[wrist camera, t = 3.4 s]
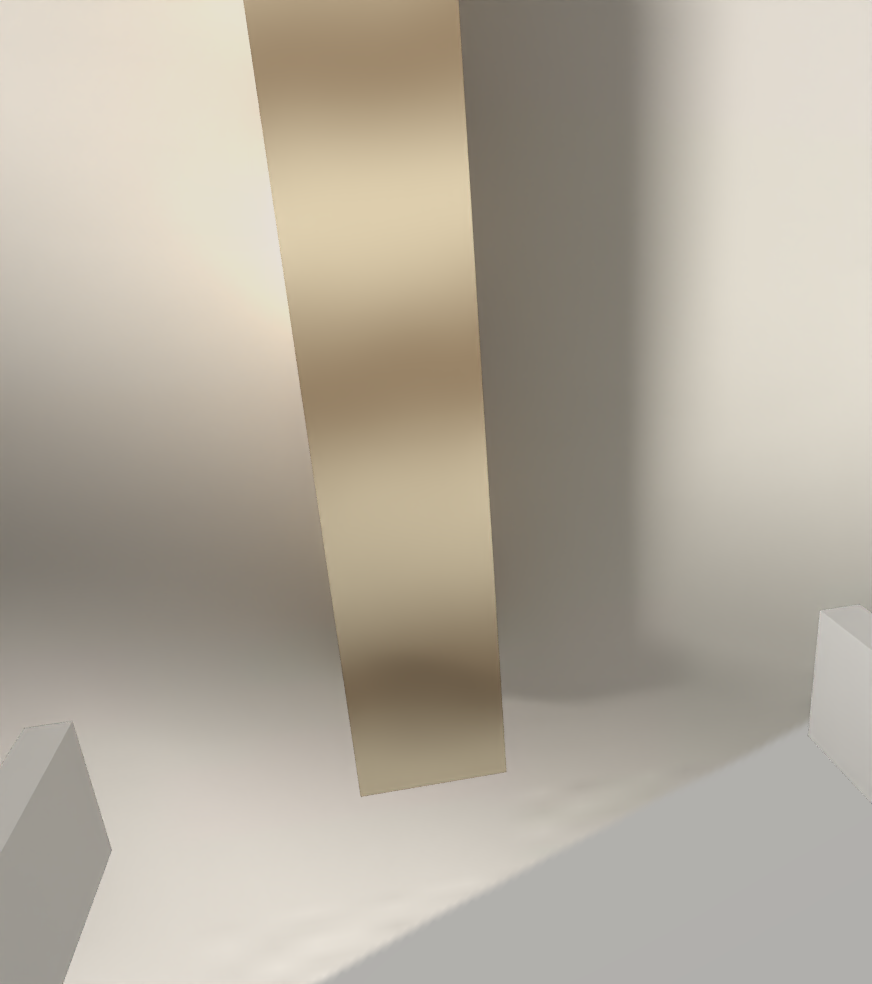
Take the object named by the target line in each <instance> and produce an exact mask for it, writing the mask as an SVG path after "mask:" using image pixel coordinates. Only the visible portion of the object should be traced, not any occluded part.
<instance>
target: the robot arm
mask: <svg viewBox="0 0 872 984" xmlns="http://www.w3.org/2000/svg"><path fill="white" fill-rule="evenodd" d="M808 737H809V738H810V739H811V740H812V741H813V742H814V743H815V744H816V745H817V746H818V747H819V748H820V749H821V750H822V751H823V752H824V754H825V755H826V756H827V757H828V758H829V759H830V760H831V761H832V762H833V763H834V764H835V765H836V766H837V767H838V768H839V770H841V772H842V773H843V774H844V775H845V776H846V777H847V778H848V779H849V780H850V781H851V782H852V783H853V784H854V786H855V787H856V788H857V789H858V790H859V791H860V792H861V793H862V794H863V795H864V796H865V797H866V798H867V799H868V800H869V801H870V802H871V804H872V613H871V612H870V611H869V610H867V609H866V608H864V607H863V606H861V605H860V604H858V605H851V606H845V607H838V608H831V609H825V610H820V616H819V626H818V637H817V647H816V657H815V667H814V678H813V688H812V698H811V708H810V718H809V729H808ZM111 851H112V849H111V846H110V842H109V839H108V836H107V833H106V829H105V826H104V823H103V820H102V816H101V813H100V810H99V806H98V803H97V800H96V797H95V793H94V790H93V787H92V784H91V780H90V777H89V774H88V770H87V767H86V764H85V761H84V757H83V754H82V751H81V748H80V744H79V741H78V738H77V734H76V731H75V728H74V725H73V721H69V722H62V723H55V724H49V725H42V726H35V727H28V728H24V729H23V731H22V733H21V734H20V736H19V737H18V739H17V740H16V742H15V744H14V745H13V747H12V748H11V750H10V752H9V753H8V755H7V756H6V758H5V759H4V761H3V763H2V764H1V766H0V984H63V982H64V979H65V977H66V974H67V971H68V969H69V966H70V963H71V960H72V958H73V955H74V952H75V949H76V947H77V944H78V941H79V938H80V936H81V933H82V930H83V927H84V925H85V922H86V919H87V917H88V914H89V911H90V908H91V906H92V903H93V900H94V897H95V895H96V892H97V889H98V886H99V884H100V881H101V878H102V876H103V873H104V870H105V867H106V865H107V862H108V859H109V856H110V854H111Z"/></svg>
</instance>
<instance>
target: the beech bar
mask: <svg viewBox="0 0 872 984" xmlns="http://www.w3.org/2000/svg"><path fill="white" fill-rule="evenodd" d="M243 1H244V8H245V15H246V21H247V28H248V35H249V42H250V49H251V55H252V62H253V69H254V76H255V83H256V89H257V96H258V103H259V110H260V116H261V123H262V130H263V137H264V144H265V150H266V157H267V164H268V171H269V178H270V184H271V191H272V198H273V205H274V211H275V218H276V225H277V232H278V239H279V245H280V252H281V259H282V266H283V272H284V279H285V286H286V293H287V300H288V306H289V313H290V320H291V327H292V334H293V340H294V347H295V354H296V361H297V367H298V374H299V381H300V388H301V395H302V401H303V408H304V415H305V422H306V429H307V435H308V442H309V449H310V456H311V462H312V469H313V476H314V483H315V490H316V496H317V503H318V510H319V517H320V524H321V530H322V537H323V544H324V551H325V557H326V564H327V571H328V578H329V585H330V591H331V598H332V605H333V612H334V619H335V625H336V632H337V639H338V646H339V652H340V659H341V666H342V673H343V680H344V686H345V693H346V700H347V707H348V714H349V720H350V727H351V734H352V741H353V747H354V754H355V761H356V768H357V775H358V781H359V788H360V795H361V797H362V796H368V795H374V794H380V793H386V792H392V791H398V790H404V789H410V788H415V787H421V786H427V785H433V784H439V783H445V782H451V781H457V780H463V779H468V778H474V777H480V776H486V775H492V774H498V773H504V772H506V758H505V742H504V726H503V710H502V694H501V678H500V661H499V645H498V629H497V613H496V597H495V581H494V565H493V548H492V532H491V516H490V500H489V484H488V468H487V452H486V436H485V419H484V403H483V387H482V371H481V355H480V339H479V323H478V306H477V290H476V274H475V258H474V242H473V226H472V210H471V193H470V177H469V161H468V145H467V129H466V113H465V97H464V80H463V64H462V48H461V32H460V16H459V0H243Z"/></svg>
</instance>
